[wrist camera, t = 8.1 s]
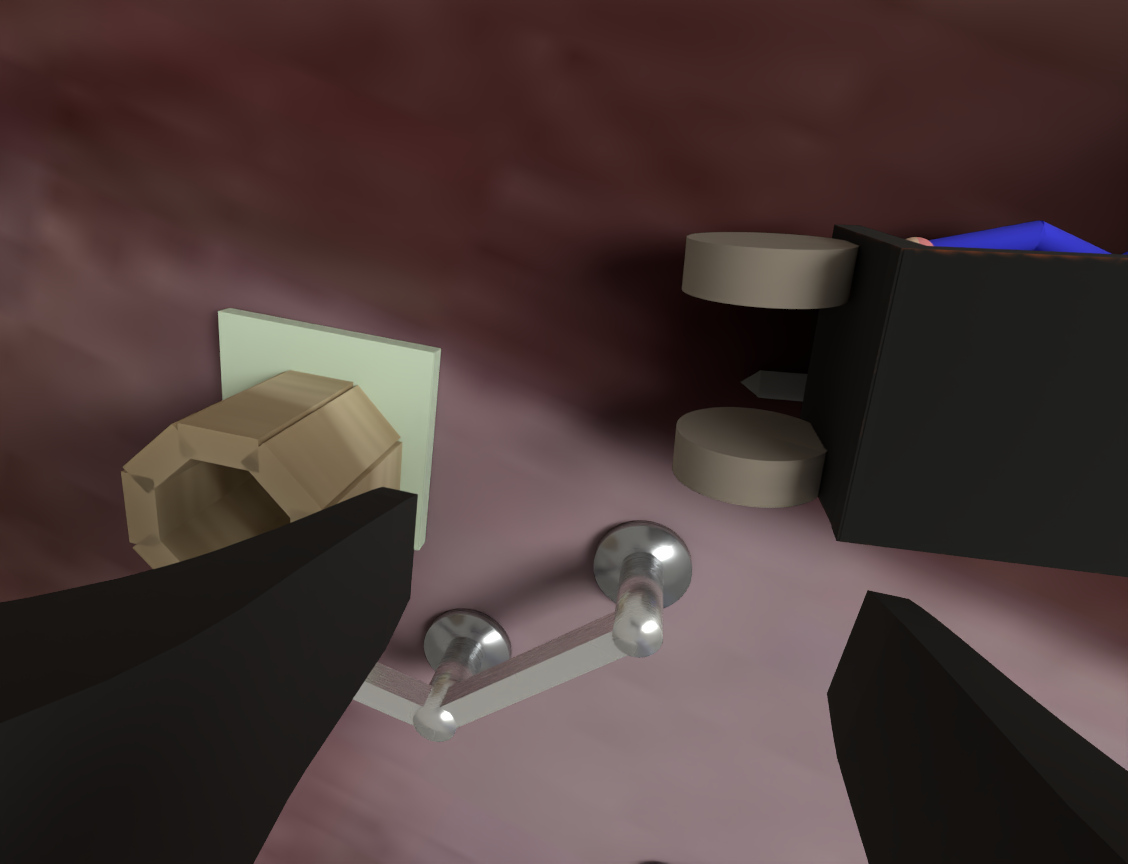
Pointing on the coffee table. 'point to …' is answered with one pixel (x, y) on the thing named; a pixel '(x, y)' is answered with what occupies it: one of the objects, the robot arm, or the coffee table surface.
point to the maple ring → (256, 465)
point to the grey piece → (483, 650)
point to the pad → (376, 364)
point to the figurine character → (931, 391)
